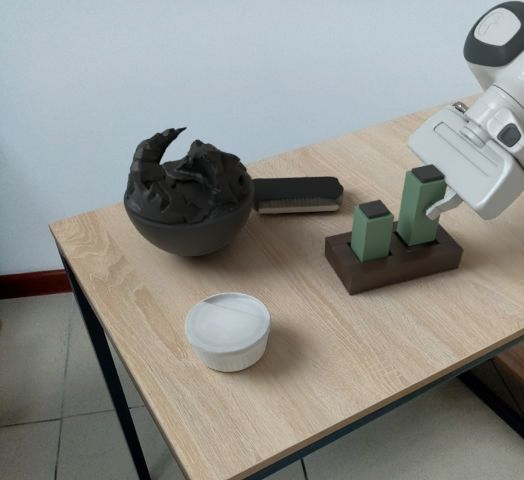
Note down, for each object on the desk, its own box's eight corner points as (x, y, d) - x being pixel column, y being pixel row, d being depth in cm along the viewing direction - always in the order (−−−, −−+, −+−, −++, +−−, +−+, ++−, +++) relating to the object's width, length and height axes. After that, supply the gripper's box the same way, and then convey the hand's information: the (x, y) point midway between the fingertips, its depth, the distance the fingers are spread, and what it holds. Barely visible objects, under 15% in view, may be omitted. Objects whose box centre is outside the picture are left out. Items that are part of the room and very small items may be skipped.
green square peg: (373, 256, 84) (381, 196, 76) (385, 272, 81) (395, 212, 73) (349, 262, 83) (354, 202, 75) (360, 278, 80) (367, 218, 72)
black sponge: (249, 219, 92) (248, 200, 89) (250, 193, 98) (249, 174, 95) (343, 216, 92) (345, 197, 89) (339, 189, 97) (340, 171, 95)
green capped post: (420, 225, 82) (433, 161, 74) (434, 240, 80) (449, 175, 72) (396, 230, 82) (406, 167, 74) (409, 246, 79) (421, 182, 71)
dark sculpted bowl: (128, 226, 93) (98, 119, 79) (236, 200, 97) (226, 93, 83) (151, 296, 80) (120, 183, 66) (275, 263, 84) (271, 150, 70)
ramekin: (265, 313, 76) (263, 285, 72) (279, 372, 69) (278, 344, 65) (187, 325, 75) (181, 297, 71) (193, 385, 68) (187, 358, 64)
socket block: (458, 268, 81) (464, 249, 78) (349, 295, 78) (351, 277, 75) (425, 231, 87) (429, 213, 85) (324, 255, 84) (325, 237, 82)
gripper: (444, 83, 76) (374, 160, 81) (534, 148, 62) (442, 235, 68) (465, 109, 80) (396, 181, 85) (553, 175, 66) (465, 255, 72)
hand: (417, 205), depth 77 cm, fingers closed on green capped post, 4 cm apart
